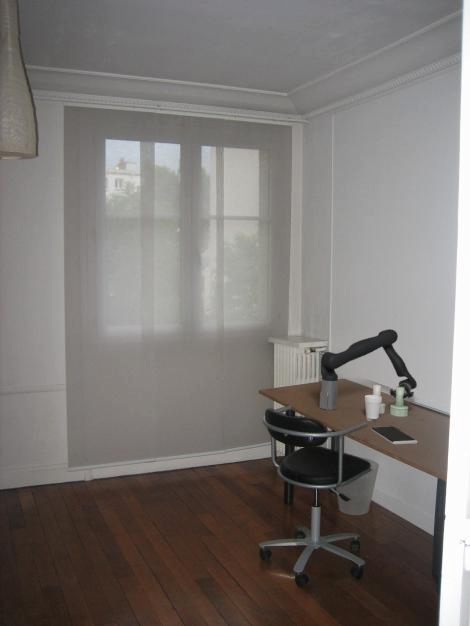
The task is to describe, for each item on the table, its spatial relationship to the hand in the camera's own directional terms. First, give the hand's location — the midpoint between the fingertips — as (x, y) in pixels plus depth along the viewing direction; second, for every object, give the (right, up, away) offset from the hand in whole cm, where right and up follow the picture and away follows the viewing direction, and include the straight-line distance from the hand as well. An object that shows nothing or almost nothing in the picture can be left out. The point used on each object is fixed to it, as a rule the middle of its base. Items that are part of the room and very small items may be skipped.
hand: (399, 396), depth 366 cm
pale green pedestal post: (+1, -12, +4) cm, 13 cm away
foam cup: (-16, -13, -4) cm, 21 cm away
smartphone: (-11, -17, -33) cm, 39 cm away
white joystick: (-11, -11, +9) cm, 18 cm away
